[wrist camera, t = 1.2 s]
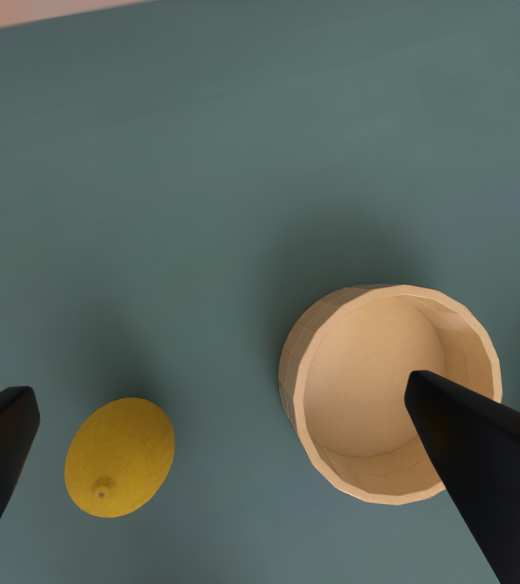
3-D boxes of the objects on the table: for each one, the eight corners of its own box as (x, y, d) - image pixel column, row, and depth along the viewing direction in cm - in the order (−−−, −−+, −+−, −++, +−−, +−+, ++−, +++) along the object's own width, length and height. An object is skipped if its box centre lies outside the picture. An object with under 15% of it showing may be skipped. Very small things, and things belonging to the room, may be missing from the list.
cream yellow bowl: (398, 488, 26) (441, 537, 21) (245, 416, 24) (253, 451, 20) (476, 334, 27) (536, 346, 22) (331, 251, 25) (360, 245, 20)
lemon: (86, 395, 23) (19, 457, 15) (168, 371, 24) (145, 418, 16) (110, 472, 23) (56, 572, 15) (190, 446, 24) (178, 529, 16)
